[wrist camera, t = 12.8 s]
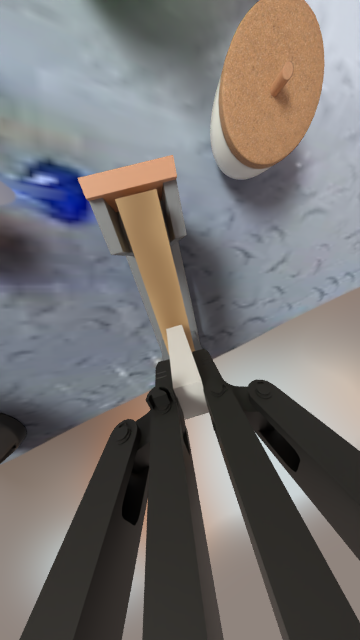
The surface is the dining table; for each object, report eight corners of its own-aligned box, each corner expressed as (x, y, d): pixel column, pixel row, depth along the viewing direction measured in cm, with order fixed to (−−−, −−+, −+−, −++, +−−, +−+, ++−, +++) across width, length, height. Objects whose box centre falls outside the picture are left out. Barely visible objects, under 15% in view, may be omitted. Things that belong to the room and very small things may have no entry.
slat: (180, 375, 26) (187, 407, 20) (129, 219, 15) (114, 199, 10) (196, 371, 26) (207, 401, 20) (156, 213, 15) (156, 188, 10)
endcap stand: (166, 360, 35) (170, 416, 23) (113, 218, 22) (61, 172, 10) (200, 350, 35) (224, 399, 23) (168, 204, 23) (183, 142, 10)
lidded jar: (229, 62, 18) (296, -119, 9) (282, 132, 21) (367, 49, 13) (186, 160, 21) (206, 92, 12) (238, 208, 24) (283, 181, 16)
